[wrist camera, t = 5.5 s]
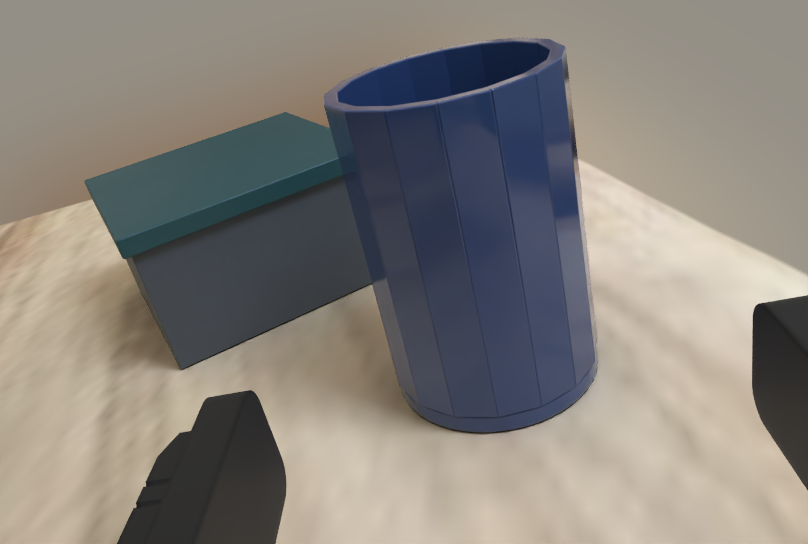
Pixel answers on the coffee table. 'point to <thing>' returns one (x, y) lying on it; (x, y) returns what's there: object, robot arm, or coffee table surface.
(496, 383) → the cup
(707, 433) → the coffee table surface
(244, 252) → the container
